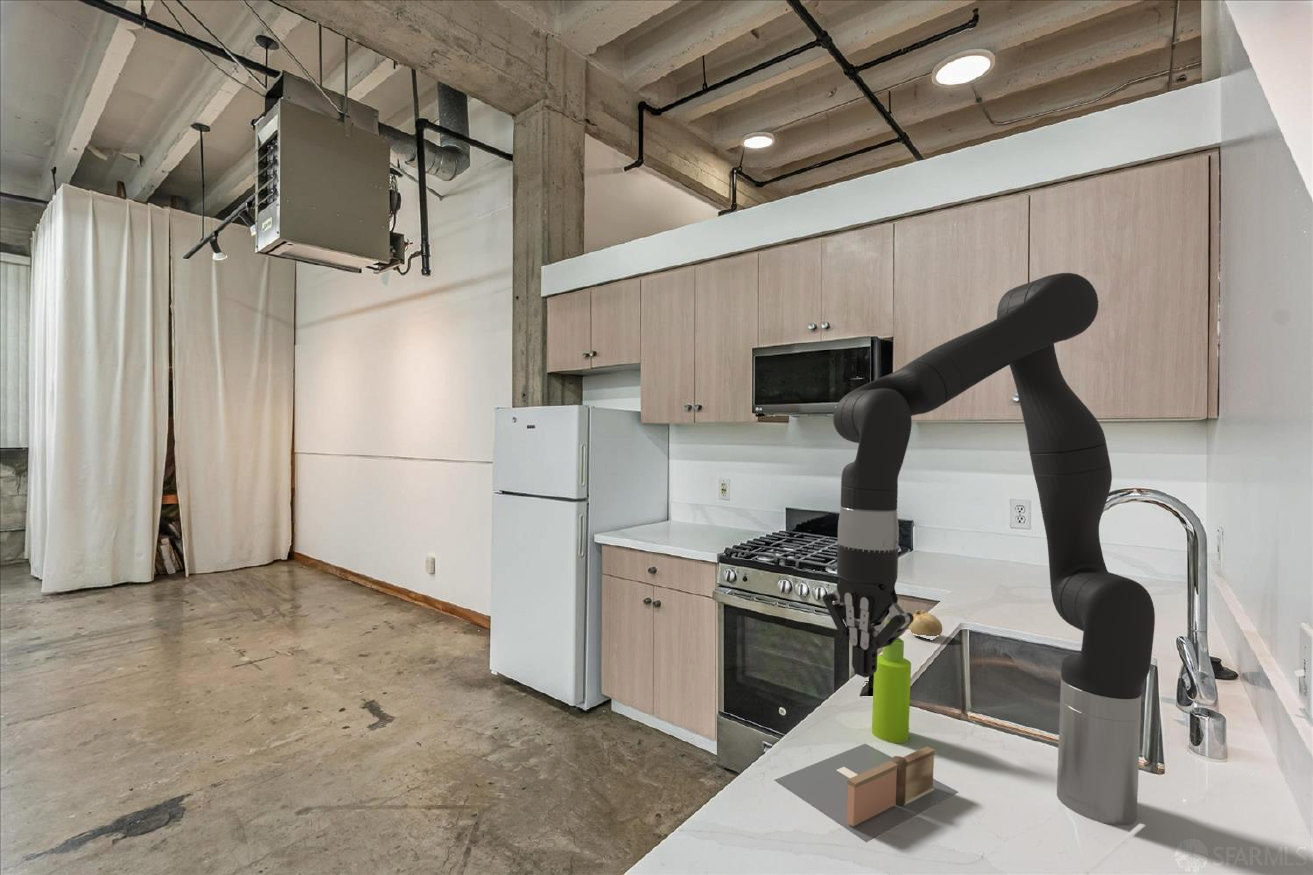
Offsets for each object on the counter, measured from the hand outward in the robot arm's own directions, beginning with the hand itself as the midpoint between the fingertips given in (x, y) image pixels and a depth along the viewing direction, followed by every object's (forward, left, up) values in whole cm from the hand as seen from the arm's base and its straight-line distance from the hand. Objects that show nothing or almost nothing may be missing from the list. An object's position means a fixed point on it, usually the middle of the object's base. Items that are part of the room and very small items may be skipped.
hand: (863, 674), depth 81 cm
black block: (-40, -27, -21) cm, 52 cm away
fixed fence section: (-12, 0, -20) cm, 23 cm away
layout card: (-8, -5, -20) cm, 22 cm away
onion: (-80, -42, -20) cm, 93 cm away
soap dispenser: (-26, -13, -20) cm, 35 cm away
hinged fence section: (-3, 0, -19) cm, 20 cm away
